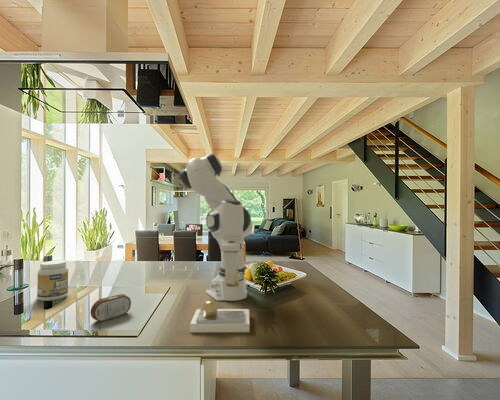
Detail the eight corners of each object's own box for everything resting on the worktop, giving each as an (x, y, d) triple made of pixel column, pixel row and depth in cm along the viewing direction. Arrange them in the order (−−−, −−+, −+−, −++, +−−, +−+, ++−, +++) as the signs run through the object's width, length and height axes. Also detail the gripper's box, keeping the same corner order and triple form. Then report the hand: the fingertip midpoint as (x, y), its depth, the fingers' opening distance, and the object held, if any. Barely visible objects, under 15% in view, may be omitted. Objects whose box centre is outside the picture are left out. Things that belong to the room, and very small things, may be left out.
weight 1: (201, 317, 103) (202, 303, 103) (205, 311, 108) (206, 298, 108) (215, 318, 102) (215, 304, 102) (218, 312, 107) (218, 299, 107)
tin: (128, 311, 119) (128, 291, 119) (132, 313, 117) (132, 292, 117) (90, 323, 108) (90, 300, 108) (93, 325, 106) (93, 302, 106)
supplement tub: (52, 302, 129) (52, 265, 130) (30, 300, 132) (30, 264, 132) (73, 294, 141) (74, 260, 142) (53, 292, 144) (53, 259, 144)
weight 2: (222, 284, 106) (222, 271, 106) (233, 282, 109) (232, 269, 109) (231, 287, 102) (231, 273, 102) (241, 285, 105) (241, 271, 105)
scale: (190, 332, 100) (190, 321, 100) (196, 316, 114) (196, 306, 114) (249, 332, 100) (249, 320, 100) (248, 316, 114) (249, 306, 114)
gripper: (225, 239, 116) (225, 273, 116) (221, 247, 96) (221, 288, 95) (241, 239, 116) (241, 273, 116) (240, 247, 96) (240, 288, 95)
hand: (232, 280), depth 105 cm, fingers closed on weight 2, 5 cm apart
